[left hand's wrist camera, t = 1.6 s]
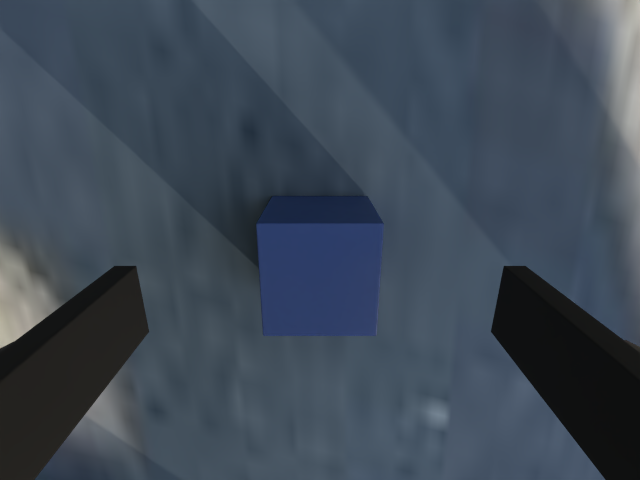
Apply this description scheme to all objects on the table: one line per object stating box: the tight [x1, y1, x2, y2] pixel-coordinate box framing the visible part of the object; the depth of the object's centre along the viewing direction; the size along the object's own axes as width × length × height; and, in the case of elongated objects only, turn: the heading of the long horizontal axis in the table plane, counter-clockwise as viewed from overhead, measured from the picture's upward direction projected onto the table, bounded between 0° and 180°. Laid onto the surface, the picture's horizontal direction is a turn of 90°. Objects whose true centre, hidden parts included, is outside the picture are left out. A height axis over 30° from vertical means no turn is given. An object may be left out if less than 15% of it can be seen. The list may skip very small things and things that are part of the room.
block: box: [256, 196, 384, 336], centre depth 17 cm, size 5×5×5 cm
